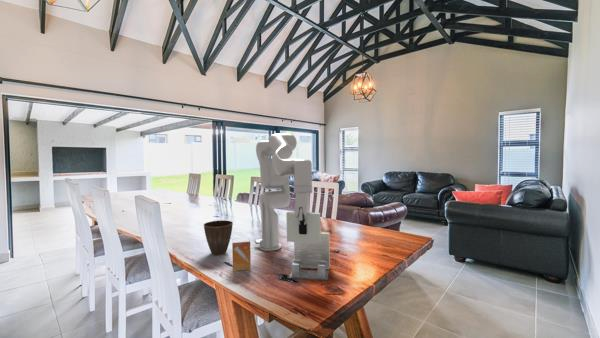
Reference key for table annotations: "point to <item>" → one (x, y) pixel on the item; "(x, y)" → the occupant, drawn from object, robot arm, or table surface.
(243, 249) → the small box
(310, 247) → the white boxy piece
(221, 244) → the plant pot
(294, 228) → the door panel
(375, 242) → the table surface
